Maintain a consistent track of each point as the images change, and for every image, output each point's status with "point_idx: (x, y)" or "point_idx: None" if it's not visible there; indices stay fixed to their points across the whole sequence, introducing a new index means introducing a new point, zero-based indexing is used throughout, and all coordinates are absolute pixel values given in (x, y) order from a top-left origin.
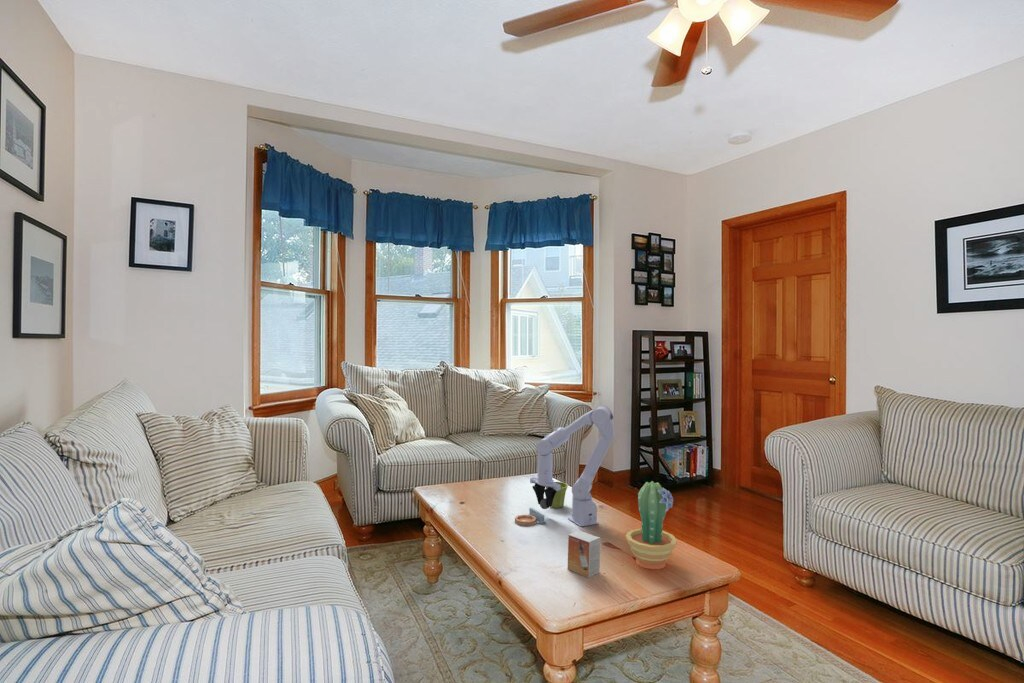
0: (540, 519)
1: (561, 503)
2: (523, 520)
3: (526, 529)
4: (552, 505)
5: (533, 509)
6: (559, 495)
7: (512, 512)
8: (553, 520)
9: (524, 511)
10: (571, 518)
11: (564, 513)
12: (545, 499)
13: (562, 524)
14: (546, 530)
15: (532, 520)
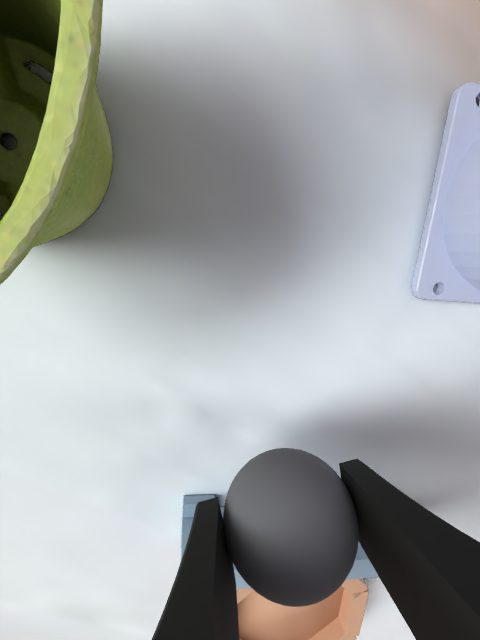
0: None
1: (106, 121)
2: (280, 615)
3: (389, 622)
4: (63, 234)
5: (239, 578)
6: (85, 133)
7: (46, 608)
8: (367, 412)
9: (62, 521)
10: (456, 282)
11: (284, 227)
12: (335, 585)
13: (464, 396)
14: (471, 533)
15: (356, 596)
